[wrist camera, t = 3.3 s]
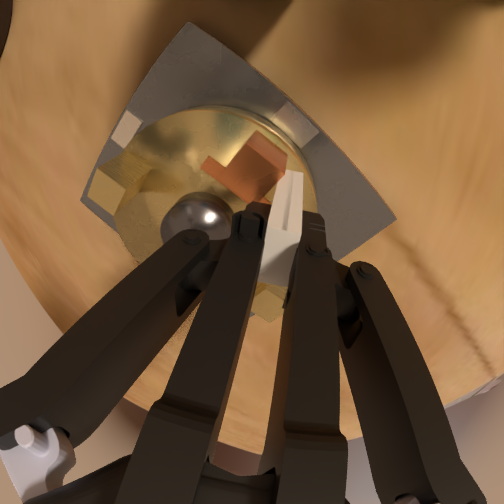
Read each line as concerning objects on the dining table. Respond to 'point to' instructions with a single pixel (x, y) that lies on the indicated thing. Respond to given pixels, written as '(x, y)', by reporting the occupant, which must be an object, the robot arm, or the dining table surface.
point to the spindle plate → (264, 105)
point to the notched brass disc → (198, 181)
